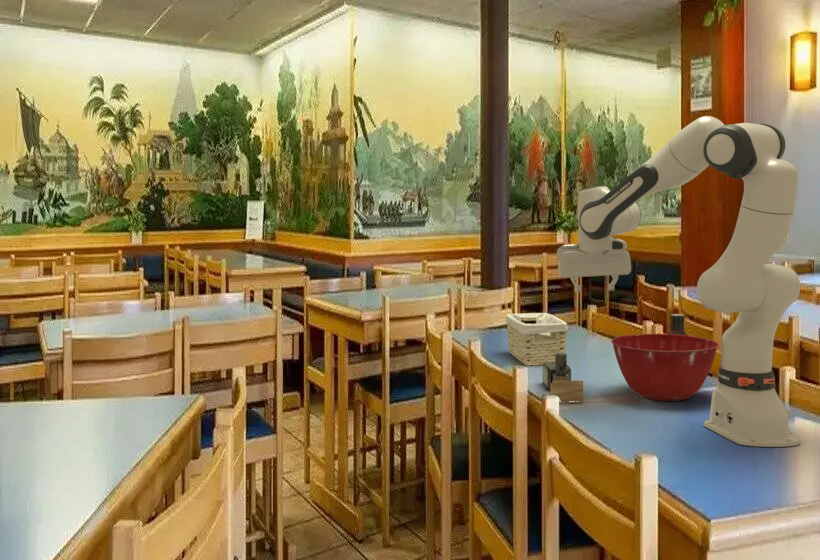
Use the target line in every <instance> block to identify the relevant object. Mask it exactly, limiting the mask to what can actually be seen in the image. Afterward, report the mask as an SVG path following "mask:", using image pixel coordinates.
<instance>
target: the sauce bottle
mask: <svg viewBox="0 0 820 560" xmlns="http://www.w3.org/2000/svg"><path fill="white" fill-rule="evenodd" d="M669 317H670V319H669V320H670V331H669V332H668V333H667V334H672V335H685V336H687V334H686V331H685V315H684V314H681V313H672V314H670V315H669Z"/></svg>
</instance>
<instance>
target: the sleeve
mask: <svg viewBox="0 0 820 560" xmlns="http://www.w3.org/2000/svg"><path fill="white" fill-rule="evenodd" d="M551 372H555V362H543V365H542V385H543V384H544V385H543V386H544V388H545V387H546V388H545V390H546V391H547V390H550V383H551ZM567 374H568V376H569V381H572V369H571V367H570V366H569V365H568V364H567Z"/></svg>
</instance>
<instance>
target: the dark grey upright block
mask: <svg viewBox="0 0 820 560" xmlns="http://www.w3.org/2000/svg"><path fill="white" fill-rule="evenodd" d="M567 355H568V354H567V353H566V352H565V353H556V354H555V372H551V383H552V381H569V376H568V374H567V365H568V363H567V360H568V359H567V358H568V356H567Z"/></svg>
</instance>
